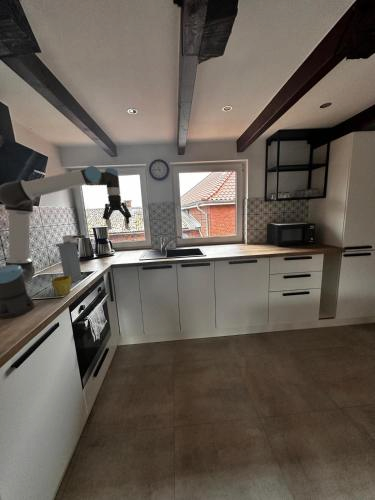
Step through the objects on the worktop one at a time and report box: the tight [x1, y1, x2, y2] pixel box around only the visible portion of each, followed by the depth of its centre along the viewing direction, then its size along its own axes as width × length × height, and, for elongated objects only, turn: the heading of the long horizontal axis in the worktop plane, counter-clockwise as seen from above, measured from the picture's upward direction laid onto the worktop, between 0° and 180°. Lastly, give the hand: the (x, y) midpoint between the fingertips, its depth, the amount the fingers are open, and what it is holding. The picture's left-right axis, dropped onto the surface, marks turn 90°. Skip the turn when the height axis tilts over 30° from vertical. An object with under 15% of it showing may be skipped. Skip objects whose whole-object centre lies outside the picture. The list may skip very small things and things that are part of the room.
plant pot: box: [50, 275, 73, 296], centre depth 123 cm, size 10×10×10 cm
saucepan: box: [62, 234, 86, 244], centre depth 141 cm, size 17×9×5 cm, turn 71°
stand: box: [55, 241, 85, 283], centre depth 147 cm, size 10×10×28 cm
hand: (118, 229), depth 129 cm, fingers open, 13 cm apart
